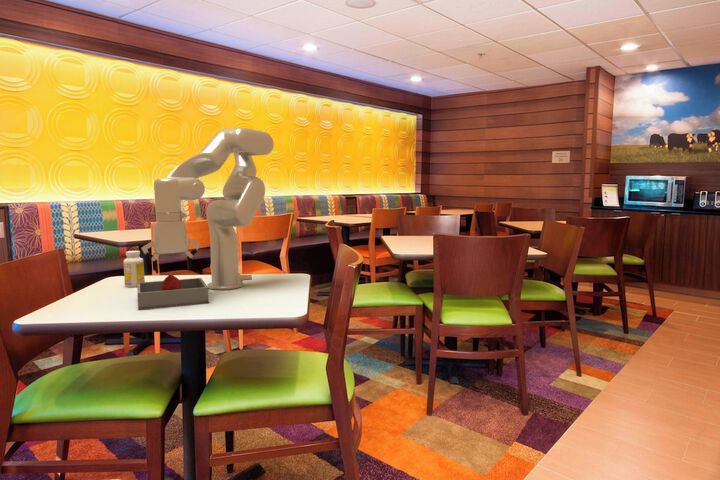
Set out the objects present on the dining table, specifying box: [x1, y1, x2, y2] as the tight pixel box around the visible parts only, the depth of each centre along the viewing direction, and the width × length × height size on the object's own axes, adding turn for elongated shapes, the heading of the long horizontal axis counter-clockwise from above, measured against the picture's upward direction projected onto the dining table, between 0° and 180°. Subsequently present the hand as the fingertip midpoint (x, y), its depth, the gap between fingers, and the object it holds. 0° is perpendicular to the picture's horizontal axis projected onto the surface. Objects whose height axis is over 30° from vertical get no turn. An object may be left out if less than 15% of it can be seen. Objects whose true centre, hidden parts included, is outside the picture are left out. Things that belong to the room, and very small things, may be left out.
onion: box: [161, 272, 181, 291], centre depth 154 cm, size 6×6×8 cm
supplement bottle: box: [123, 250, 146, 288], centre depth 177 cm, size 7×7×13 cm
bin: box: [136, 277, 210, 311], centre depth 154 cm, size 20×18×5 cm
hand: (173, 271), depth 154 cm, fingers open, 9 cm apart
